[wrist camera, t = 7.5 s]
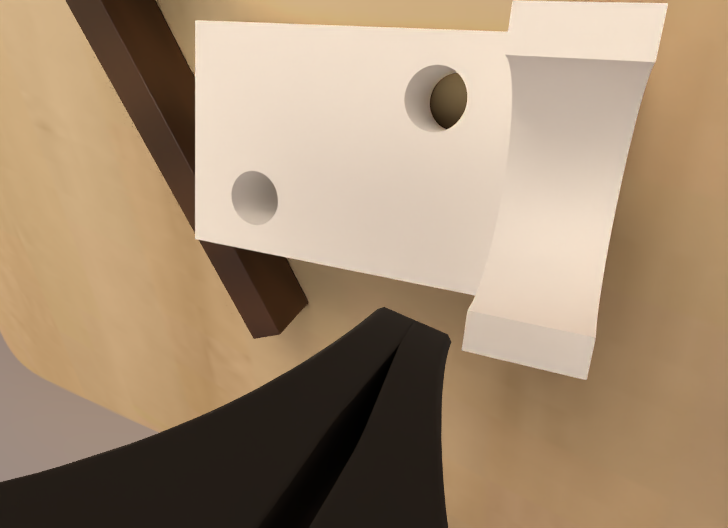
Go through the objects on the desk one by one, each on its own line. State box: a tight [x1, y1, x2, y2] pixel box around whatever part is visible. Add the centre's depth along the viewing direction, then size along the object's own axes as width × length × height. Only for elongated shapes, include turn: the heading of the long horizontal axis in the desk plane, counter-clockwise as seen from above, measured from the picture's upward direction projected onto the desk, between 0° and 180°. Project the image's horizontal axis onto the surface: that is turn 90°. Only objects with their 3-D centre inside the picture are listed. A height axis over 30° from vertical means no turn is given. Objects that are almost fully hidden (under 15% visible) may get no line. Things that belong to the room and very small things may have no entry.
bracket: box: [195, 1, 668, 380], centre depth 16 cm, size 13×7×8 cm, turn 90°
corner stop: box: [66, 0, 308, 339], centre depth 18 cm, size 17×16×2 cm
